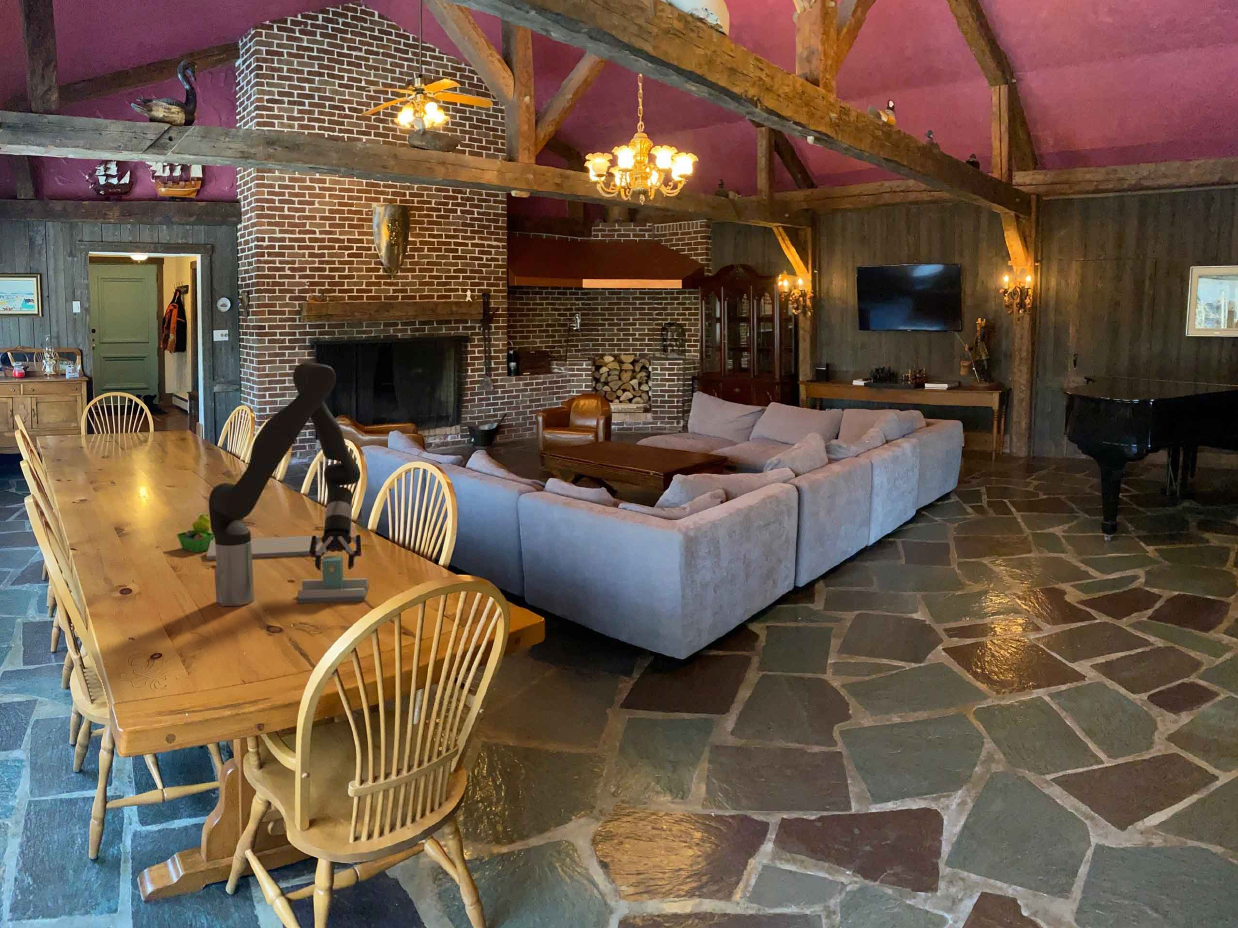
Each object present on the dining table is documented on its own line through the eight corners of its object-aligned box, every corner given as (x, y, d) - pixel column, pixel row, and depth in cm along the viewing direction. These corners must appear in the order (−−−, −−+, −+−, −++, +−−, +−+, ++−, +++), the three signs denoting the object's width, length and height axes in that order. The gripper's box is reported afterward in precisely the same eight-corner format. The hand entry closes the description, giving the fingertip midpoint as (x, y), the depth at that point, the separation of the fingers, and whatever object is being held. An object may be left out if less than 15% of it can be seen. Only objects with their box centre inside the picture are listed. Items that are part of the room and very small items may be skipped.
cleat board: (297, 603, 262) (297, 589, 261) (305, 589, 275) (304, 575, 274) (364, 601, 265) (363, 587, 264) (368, 587, 278) (368, 574, 277)
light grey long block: (319, 563, 312) (320, 547, 320) (318, 550, 310) (319, 535, 318) (208, 568, 303) (212, 552, 312) (206, 555, 301) (210, 540, 310)
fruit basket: (176, 548, 315) (174, 515, 313) (200, 543, 322) (199, 511, 320) (195, 554, 308) (193, 520, 306) (220, 548, 315) (218, 516, 313)
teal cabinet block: (322, 595, 265) (321, 561, 263) (325, 589, 270) (324, 556, 269) (341, 595, 266) (340, 561, 264) (343, 589, 271) (342, 555, 269)
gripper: (311, 513, 274) (306, 563, 265) (361, 513, 276) (358, 561, 267) (315, 527, 280) (310, 575, 271) (364, 526, 283) (361, 574, 273)
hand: (334, 568), depth 269 cm, fingers open, 8 cm apart
